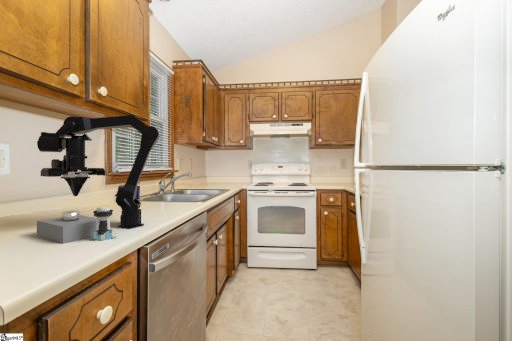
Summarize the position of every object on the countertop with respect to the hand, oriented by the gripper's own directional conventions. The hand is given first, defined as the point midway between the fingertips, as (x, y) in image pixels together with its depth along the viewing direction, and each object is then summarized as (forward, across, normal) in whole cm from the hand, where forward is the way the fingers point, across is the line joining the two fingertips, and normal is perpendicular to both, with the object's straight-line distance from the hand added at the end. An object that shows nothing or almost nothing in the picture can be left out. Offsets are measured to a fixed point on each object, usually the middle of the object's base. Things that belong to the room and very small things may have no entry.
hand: (75, 196), depth 91 cm
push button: (+12, +2, +21) cm, 24 cm away
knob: (+12, +5, +7) cm, 15 cm away
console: (+12, +5, +7) cm, 15 cm away
